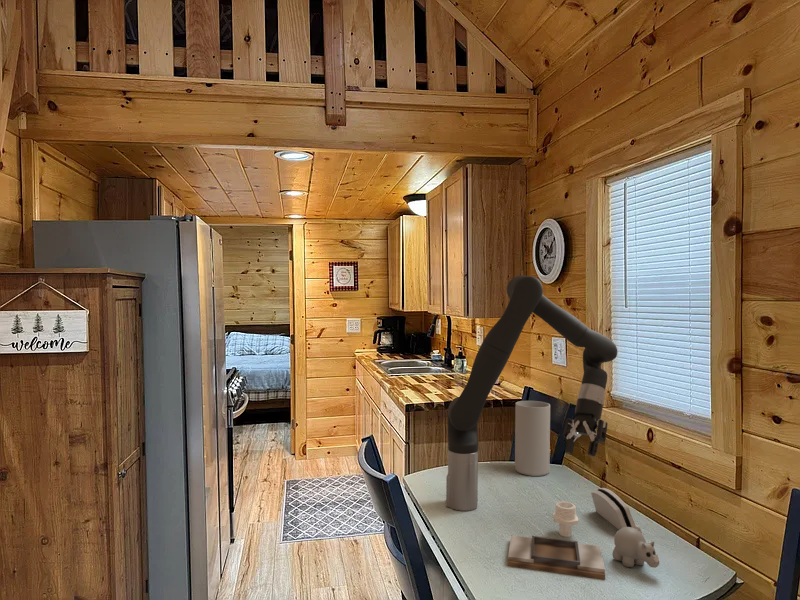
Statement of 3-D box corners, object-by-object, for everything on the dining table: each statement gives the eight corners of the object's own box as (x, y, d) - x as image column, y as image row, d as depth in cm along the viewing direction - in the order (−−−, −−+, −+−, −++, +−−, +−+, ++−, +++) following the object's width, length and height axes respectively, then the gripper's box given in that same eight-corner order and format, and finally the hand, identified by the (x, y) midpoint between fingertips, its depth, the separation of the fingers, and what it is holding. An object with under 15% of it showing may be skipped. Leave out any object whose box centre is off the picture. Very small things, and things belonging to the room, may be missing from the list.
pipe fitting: (583, 537, 144) (584, 508, 144) (560, 540, 142) (560, 510, 142) (569, 527, 150) (570, 499, 150) (547, 530, 148) (547, 501, 148)
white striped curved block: (643, 534, 147) (632, 500, 146) (627, 541, 146) (616, 507, 146) (611, 510, 163) (601, 479, 163) (597, 516, 163) (587, 485, 162)
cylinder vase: (552, 468, 202) (552, 402, 202) (546, 478, 191) (547, 408, 191) (518, 464, 207) (519, 399, 207) (511, 473, 196) (512, 405, 196)
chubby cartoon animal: (644, 582, 122) (645, 545, 122) (607, 558, 133) (607, 524, 133) (669, 577, 124) (669, 540, 124) (630, 553, 136) (630, 520, 135)
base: (507, 565, 129) (507, 555, 129) (511, 540, 142) (511, 530, 142) (605, 579, 123) (605, 568, 123) (599, 551, 137) (599, 541, 136)
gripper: (564, 397, 167) (553, 448, 162) (600, 397, 155) (590, 452, 149) (580, 405, 170) (570, 456, 164) (618, 406, 158) (608, 460, 152)
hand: (579, 454), depth 157 cm, fingers open, 8 cm apart
